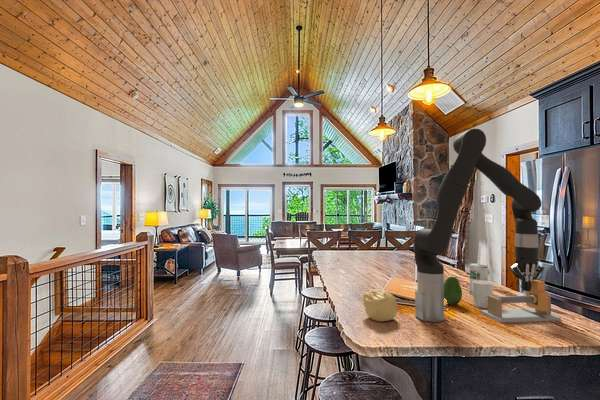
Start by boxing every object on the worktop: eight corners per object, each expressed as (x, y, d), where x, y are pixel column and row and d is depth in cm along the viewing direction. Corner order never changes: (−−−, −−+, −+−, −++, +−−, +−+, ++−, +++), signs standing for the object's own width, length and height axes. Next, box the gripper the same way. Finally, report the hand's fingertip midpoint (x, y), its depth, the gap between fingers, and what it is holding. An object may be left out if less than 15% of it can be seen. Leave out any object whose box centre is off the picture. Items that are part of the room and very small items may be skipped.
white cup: (496, 309, 133) (496, 284, 133) (475, 308, 135) (475, 283, 135) (489, 303, 141) (489, 280, 141) (469, 302, 142) (469, 279, 143)
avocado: (465, 304, 139) (465, 276, 139) (456, 308, 134) (456, 279, 134) (446, 300, 145) (446, 273, 145) (438, 304, 140) (438, 275, 140)
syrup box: (468, 293, 157) (468, 263, 158) (478, 292, 159) (478, 262, 160) (478, 296, 152) (478, 265, 152) (488, 295, 154) (488, 264, 154)
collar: (541, 311, 121) (540, 282, 122) (526, 305, 128) (525, 278, 129) (548, 310, 122) (548, 282, 122) (533, 305, 129) (532, 278, 129)
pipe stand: (500, 322, 118) (499, 300, 118) (480, 312, 128) (480, 292, 129) (560, 320, 120) (560, 298, 120) (536, 311, 131) (535, 291, 131)
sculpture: (358, 315, 125) (358, 286, 125) (387, 312, 128) (387, 285, 128) (372, 325, 114) (372, 294, 114) (403, 322, 117) (403, 292, 117)
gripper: (518, 246, 121) (518, 293, 120) (550, 246, 122) (550, 293, 122) (503, 244, 128) (503, 288, 128) (534, 244, 130) (534, 288, 129)
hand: (526, 290), depth 125 cm, fingers closed
